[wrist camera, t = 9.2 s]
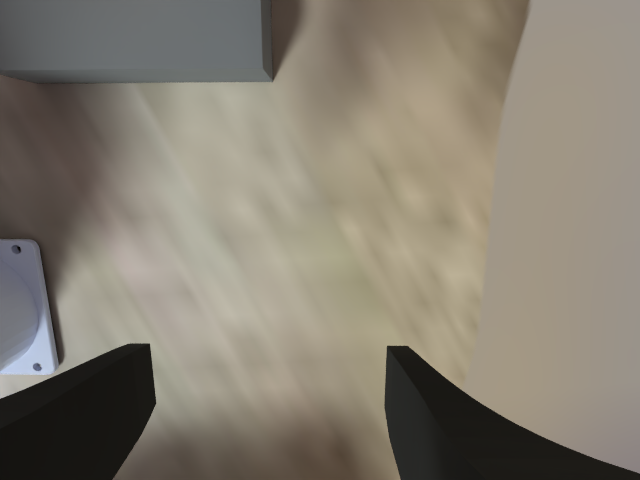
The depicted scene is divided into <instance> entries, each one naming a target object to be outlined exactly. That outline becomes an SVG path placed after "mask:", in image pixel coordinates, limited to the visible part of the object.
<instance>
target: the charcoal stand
mask: <svg viewBox="0 0 640 480" xmlns="http://www.w3.org/2000/svg"><path fill="white" fill-rule="evenodd" d="M0 75H4V76H8V77H12V78H16V79H21V80H25V81H29V82H33V83H142V82H273V68H272V31H271V0H0Z"/></svg>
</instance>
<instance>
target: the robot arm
mask: <svg viewBox="0 0 640 480" xmlns="http://www.w3.org/2000/svg"><path fill="white" fill-rule="evenodd" d="M17 245H18V246H19V247H20V248H21V252H20V251H19V250H18V249H17ZM38 363H39V364H40V365H41V366H42V367H40V366H39V365H38ZM58 366H59V364H58V358H57V352H56V346H55V340H54V334H53V328H52V322H51V315H50V309H49V303H48V297H47V291H46V285H45V279H44V273H43V267H42V261H41V255H40V249H39V246H38V244H37V243H36V242H35V241H33V240H30V239H0V374H35V375H49V374H52V373H53V372H55V371H56V370H57V369H58ZM155 405H156V397H155V388H154V378H153V369H152V360H151V350H150V344H127V345H124V346H121V347H119V348H116V349H114V350H111V351H109V352H107V353H104V354H102V355H100V356H98V357H96V358H94V359H91V360H89V361H87V362H85V363H83V364H81V365H78V366H76V367H74V368H72V369H70V370H68V371H65V372H63V373H61V374H59V375H56V376H54V377H52V378H50V379H47V380H45V381H43V382H40V383H38V384H36V385H33V386H31V387H29V388H26V389H24V390H22V391H19V392H17V393H14V394H12V395H9V396H6V397H4V398H1V399H0V480H112V479H113V478H114V476H115V475H116V473H117V472H118V470H119V469H120V467H121V466H122V464H123V462H124V461H125V459H126V458H127V456H128V455H129V453H130V452H131V450H132V449H133V447H134V445H135V444H136V442H137V441H138V439H139V438H140V436H141V434H142V432H143V430H144V428H145V426H146V424H147V422H148V420H149V418H150V416H151V414H152V411H153V409H154V407H155ZM385 412H386V419H387V426H388V432H389V438H390V442H391V446H392V449H393V453H394V456H395V460H396V464H397V467H398V471H399V474H400V478H401V480H640V474H639V473H636V472H633V471H630V470H627V469H624V468H621V467H618V466H615V465H612V464H609V463H606V462H603V461H600V460H597V459H594V458H592V457H589V456H586V455H584V454H581V453H579V452H576V451H574V450H571V449H569V448H567V447H564V446H562V445H559V444H557V443H555V442H553V441H550V440H548V439H546V438H544V437H541V436H539V435H537V434H535V433H533V432H531V431H529V430H527V429H525V428H523V427H521V426H519V425H517V424H515V423H513V422H512V421H510V420H508V419H506V418H504V417H502V416H501V415H499V414H497V413H496V412H494V411H492V410H491V409H489V408H487V407H486V406H484V405H482V404H481V403H479V402H478V401H476V400H475V399H473V398H472V397H470V396H469V395H468V394H466V393H465V392H463V391H462V390H461V389H459V388H458V387H456V386H455V385H454V384H453V383H451V382H450V381H449V380H447V379H446V378H445V377H444V376H442V375H441V374H440V373H439V372H437V371H436V370H435V369H434V368H433V367H432V366H430V365H429V364H428V363H427V362H426V361H425V360H423V359H422V358H421V357H420V356H419V355H418V354H417V353H415V352H414V351H413V350H412V349H411V348H409V347H408V346H387V358H386V383H385Z"/></svg>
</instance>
